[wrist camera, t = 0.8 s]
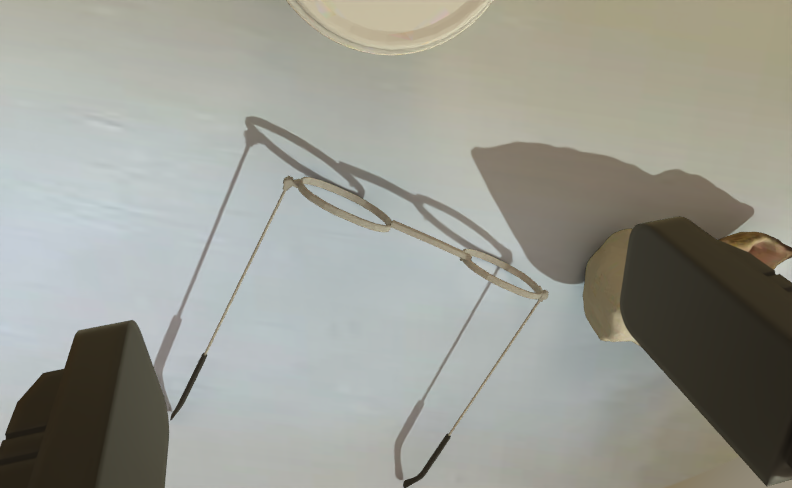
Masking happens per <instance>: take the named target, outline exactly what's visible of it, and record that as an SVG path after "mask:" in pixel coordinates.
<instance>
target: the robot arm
mask: <svg viewBox="0 0 792 488" xmlns="http://www.w3.org/2000/svg"><path fill="white" fill-rule="evenodd" d="M620 311H621V316H622V319H623V322H624V324H625V326H626V328H627V330H628V332H629V333H630V334H631V336H632V337H633V338H634V339H635V340H636V341H637V342H638V344H639V345H640V346H641V347H642V348H643V349H644V350H645V351H646V352H647V354H648V355H649V356H650V357H651V358H652V359H653V360H654V361H655V363H656V364H657V365H658V366H659V367H660V368H661V369H662V370H663V371H664V373H665V374H666V375H667V376H668V377H669V378H670V379H671V380H672V381H673V383H674V384H675V385H676V386H677V387H678V388H679V389H680V390H681V391H682V393H683V394H684V395H685V396H686V397H687V398H688V399H689V400H690V401H691V403H692V404H693V405H694V406H695V407H696V408H697V409H698V410H699V412H700V413H701V414H702V415H703V416H704V417H705V418H706V419H707V420H708V422H709V423H710V424H711V425H712V426H713V427H714V428H715V429H716V430H717V432H718V433H719V434H720V435H721V436H722V437H723V438H724V439H725V440H726V442H727V443H728V444H729V445H730V446H731V447H732V448H733V449H734V451H735V452H736V453H737V454H738V455H739V456H740V457H741V458H742V459H743V461H745V463H746V464H747V465H748V466H749V467H750V468H751V469H752V471H753V472H754V473H755V474H756V475H757V476H758V477H759V478H760V479H761V480H762V481H763V483H764V484H765V485H766V486H770V485H774V484H778V483H781V482H785V481H788V480H792V283H791V282H790V281H789V280H787V279H786V278H784V277H783V276H782V275H780V274H779V275H776V274H775V270H773V269H772V268H770V267H769V266H768V265H766V264H765V263H763V262H762V261H760V260H759V259H758V258H756V257H755V256H753V255H752V254H751V253H749V252H747V251H744V250H742V249H739V248H737V247H735V246H732V245H730V244H727V243H725V242H722V241H720V240H717V239H715V238H713V237H712V236H711V235H709V234H708V233H706V232H705V231H704V230H702V229H701V228H700V227H698V226H697V225H696V224H694V223H693V222H691V221H690V220H689V219H687V218H685V217H680V216H679V217H673V218H668V219H663V220H658V221H653V222H647V223H642V224H638V225H636V226H635V227H634V228H633V229H632V231H631V233H630V236H629V242H628V248H627V255H626V262H625V268H624V275H623V281H622V288H621V295H620ZM5 435H6V440H3V441H2V444H1V446H0V488H165V477H166V465H167V454H168V443H169V421H168V413H167V407H166V403H165V399H164V395H163V392H162V390H161V387H160V384H159V381H158V379H157V376H156V373H155V370H154V367H153V365H152V362H151V359H150V356H149V353H148V351H147V348H146V345H145V342H144V340H143V337H142V334H141V331H140V329H139V327H138V325H137V324H136V322H135V321H133V320H130V321H125V322H120V323H115V324H109V325H104V326H99V327H94V328H89V329H83V330H79V331H78V332H77V333H76V334H75V337H74V340H73V343H72V346H71V349H70V352H69V356H68V359H67V362H66V365H65V368H64V369H61V370H56V371H51V372H46V373H43V374H42V375H41V376H40V377H39V378H38V380H37V381H36V382H35V383H34V384H33V385H32V386H31V388H30V389H29V390H28V391H27V392H26V393H25V394H24V396H23V397H22V398H21V399H20V400H19V401H18V402H17V404H16V407H15V410H14V412H13V415H12V418H11V420H10V423H9V425H8V428H7V431H6V433H5Z"/></svg>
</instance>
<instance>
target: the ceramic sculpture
mask: <svg viewBox="0 0 792 488" xmlns="http://www.w3.org/2000/svg"><path fill="white" fill-rule="evenodd" d="M631 231H632V229H624V230H620V231H618V232H615V233H614V234H613V235H611V236H610V237H609V238H608V239H607V240H606V241H605V243H604V244H603V245H602V246H601V248H600V249H599V250H598V251H597V252H596V253H595V254H594V255H593V256H592V257H591V258H590V259H589V261H588V263H587V266H586V272H585V284H584V290H583V301H584V311H585V315H586V318H587V320H588V321H589V323H590V325H591V326H592V328H593V329H594V331H595V332H596V334H597V335H598V337H599V338H600V340H603V341H611V342H616V341H619V342H621V341H632V342H634V343H635V344H637V345H639V344H638V342H637V341H636V340H635V339H634V338H633V337H632V336H631V334H630V333H629V332H628V330H627V328H626V326H625V324H624V322H623V319H622V316H621V311H620V295H621V288H622V281H623V275H624V268H625V262H626V255H627V248H628V242H629V236H630V233H631ZM720 241H722V242H725V243H727V244H730V245H732V246H735V247H737V248H739V249H742V250H744V251H747V252H749V253H751V254H752V255H753V256H755V257H756V258H758V259H759V260H760V261H762V262H763V263H765V264H766V265H768V266H769V267H770V268H772V269H775V268H776V266H777V265H778V264H780V263H781V262H783V261H785V260H786V259H789V258H791V257H792V248H791V247H789V246H787V245H785V244H783V243H782V242H781V241H779V240H778V239H776V238H774V237H771V236H769V235H767V234H764V233H759V232H739V233H736V234H733V235H730V236H727V237H724V238H722V239H720ZM639 346H640V345H639Z"/></svg>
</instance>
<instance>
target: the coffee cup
mask: <svg viewBox="0 0 792 488" xmlns="http://www.w3.org/2000/svg"><path fill="white" fill-rule="evenodd" d="M492 1H493V0H287V2H288V3H289V5H290V6H291V7H292V8H293V9H294V10H295V11H296V12H297V14H298V15H299V16H300V17H301V18H303V19H304V20H305V21H306V22H307V23H308V24H309V25H310V26H312V27H313V28H314V29H316V30H317V31H318V32H320V33H321V34H322V35H324V36H326V37H328V38H329V39H331V40H333V41H335V42H337V43H339V44H341V45H344V46H346V47H348V48H352V49H355V50H358V51H361V52H366V53H372V54H379V55H403V54H410V53H416V52H420V51H423V50H427V49H430V48H432V47H435V46H438V45H440V44H442V43H444V42H446V41H448V40H450V39H452V38H453V37H455V36H456V35H458V34H459V33H461V32H462V31H464V30H465V29H466V28H468V27H469V26H470V25H471V24H472V23H473V22H475V21H476V20H477V19H478V18H479V17H480V16H481V14H482V13H483V12H484V11H485V10H486V9H487V8H488V6H489V5H490V4H491V3H492Z"/></svg>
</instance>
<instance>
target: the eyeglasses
mask: <svg viewBox="0 0 792 488" xmlns="http://www.w3.org/2000/svg"><path fill="white" fill-rule="evenodd" d="M283 184H284V186H283V189H284V191H283V193H282V195H281V197H280V199H279V201H278V203H277V205H276V207H275V209H274V211H273V213H272V215H271V217H270V219H269V221H268V224H267V226H266V228H265V230H264V232H263V234H262V236H261V238H260V240H259V242H258V244H257V246H256V248H255V250H254V252H253V254H252V256H251V258H250V261H249V263H248V265H247V267H246V269H245V271H244V273H243V275H242V277H241V279H240V281H239V283H238V285H237V287H236V289H235V291H234V293H233V295H232V298H231V300H230V302H229V304H228V306H227V308H226V310H225V312H224V314H223V316H222V318H221V320H220V322H219V324H218V326H217V328H216V330H215V332H214V335H213V337H212V339H211V341H210V343H209V345H208V347H207V349H206V351H205V353H203V354H202V356H201V358H200V360H199V362H198V364H197V366H196V368H195V370H194V372H193V374H192V376H191V378H190V380H189V382H188V384H187V386H186V389H185V391H184V393H183V395H182V397H181V399H180V401H179V403H178V405H177V406H176V408H175V410H174V411H173V413H172V415H171V419H170V420H172V419H173V417H174V416H175V415H176V414H177V412H178V411H179V410H180V408H181V407H182V406H183V404H184V402H185V400H186V398H187V396H188V394H189V392H190V390H191V388H192V386H193V384H194V382H195V380H196V378H197V376H198V374H199V372H200V370H201V368H202V366H203V364H204V362H205V359H206V357H207V352H208V350H209V348H210V346H211V344H212V342H213V340H214V338H215V336H216V333H217V331H218V329H219V327H220V325H221V323H222V321H223V319H224V317H225V315H226V313H227V311H228V309H229V307H230V305H231V303H232V301H233V299H234V297H235V295H236V292H237V290H238V288H239V286H240V284H241V282H242V280H243V278H244V276H245V274H246V272H247V270H248V268H249V266H250V264H251V262H252V260H253V258H254V256H255V254H256V252H257V249H258V247H259V245H260V243H261V241H262V239H263V237H264V235H265V233H266V231H267V229H268V227H269V225H270V223H271V221H272V219H273V217H274V215H275V213H276V211H277V208H278V206H279V204H280V202H281V200H282V198H283V196H284V194H285V192H286V191H287V190H288V189H289V188H290V187H292V186H294V187H296V188H298V189H299V191H300V192H301V193H302V195H304V196H305V197H306V198H307V199H308V200H310V201H311V202H313V203H315V204H316V205H318V206H319V207H321V208H322V209H324V210H326V211H328V212H330V213H332V214H334V215H336V216H338V217H341V218H343V219H345V220H348V221H350V222H352V223H355V224H357V225H359V226H362V227H365V228H368V229H371V230H374V231H379V232H388V231H389V230H390V228H391V227H392V228H394V229H397V230H399V231H401V232H404V233H406V234H408V235H411V236H413V237H415V238H417V239H420V240H422V241H424V242H427V243H429V244H431V245H434V246H436V247H438V248H440V249H442V250H445V251H447V252H449V253H451V254H453V255H456V256H458V257H460V258H461V259H460V261H463V262H464V263H465V264H466V265H467V266H468V267H469V268H470V269H471V270H473V271H474V272H475V273H477V274H478V275H480V276H481V277H483V278H485V279H486V280H488V281H490V282H492V283H494V284H496V285H498V286H500V287H502V288H504V289H506V290H508V291H511V292H513V293H515V294H518V295H520V296H523V297H526V298H530V299H538V301H537V303H536V304H535V306H534V307H533V309H532V310H531V312H530V313H529V315H528V316H527V318H526V319H525V321H524V322H523V324H522V325H521V327H520V328H519V330H518V331H517V333H516V334H515V336H514V337H513V339H512V340H511V342H510V343H509V345H508V346H507V348H506V349H505V351H504V352H503V354H502V355H501V357H500V358H499V360H498V361H497V363H496V364H495V366H494V367H493V369H492V370H491V372H490V373H489V375H488V376H487V377H486V379H485V380H484V382H483V383H482V385H481V386H480V388H479V389H478V391H477V392H476V394H475V395H474V397H473V398H472V400H471V401H470V403H469V404H468V406H467V407H466V409H465V410H464V412H463V413H462V415H461V416H460V418H459V419H458V421H457V422H456V424H455V425H454V427H453V428H452V430H451V431H450V433H449V434H446V436H445V437H444V439H443V440H442V442H441V443H440V445H439V446H438V448H437V449H436V450H435V452H434V453H433V455H432V456H431V458H430V459H429V461H428V462H427V464H426V465H425V467H424V468H423V470H422V471H421V472H420V473H419V474H418V475H417V476H416V477H414V478H411V479H407V480H405V481H404V483H403V486H404V488H406V487H408V486H410V485H412V484H413V483H415V482H417V481H419V480H420V479H422V478H423V477H424V476H425V474H426V473H427V472H428V470H429V469H430V467H431V466H432V464H433V463H434V461H435V460H436V458H437V457H438V456H439V454H440V453H441V451H442V450H443V448H444V447H445V445H446V444H447V442H448V440H449V439H450V437H451V436H450V435H451V433H452V432H453V430H454V429H455V427H456V426H457V424H458V423H459V421H460V420H461V418H462V417H463V415H464V414H465V412H466V411H467V409H468V408H469V406H470V405H471V403H472V402H473V400H474V399H475V397H476V396H477V394H478V393H479V392H480V390H481V389H482V387H483V386H484V384H485V383H486V381H487V380H488V378H489V377H490V375H491V374H492V372H493V371H494V369H495V368H496V366H497V365H498V363H499V362H500V360H501V359H502V357H503V356H504V354H505V353H506V351H507V350H508V348H509V347H510V345H511V344H512V342H513V341H514V339H515V338H516V336H517V335H518V334H519V332H520V331H521V329H522V328H523V326H524V325H525V323H526V322H527V320H528V319H529V317H530V316H531V314H532V313H533V311H534V310H535V308H536V307H537V305H538V304H539V302H542V301H543V300H545V299H547V298H548V293H549V292H548V291H546V290H542V288H541V286H538V285H537V284H536V283H535V282H534V281H533V280H532V279H531V278H529V277H528V276H527V275H525V274H524V273H522V272H521V271H519V270H517V269H516V268H514V267H512V266H510V265H509V264H507V263H505V262H503V261H501V260H499V259H497V258H494V257H492V256H490V255H487V254H485V253H482V252H479V251H476V250H472V249H464V250H463V251H462V250H460V249H458V248H455V247H453V246H451V245H449V244H447V243H445V242H442V241H440V240H438V239H436V238H434V237H431V236H429V235H427V234H425V233H422V232H420V231H418V230H415V229H413V228H411V227H408V226H406V225H404V224H402V223H399V222H397V221H395V220H393V221H391V219H390V218H389V217H388V216H387V215H386V214H385V213H384V212H382V211H381V210H380V209H378V208H377V207H375V206H374V205H372V204H371V203H369V202H367V201H366V200H364V199H362V198H360V197H358V196H356V195H354V194H352V193H350V192H348V191H346V190H344V189H342V188H339V187H337V186H334V185H332V184H329V183H327V182H324V181H321V180H318V179H314V178H311V177H303V178H301V179H296V180H293V177H290V176H288V177H286V178H285V179H284V181H283ZM304 184H310V185H313V186H317V187H320V188H323V189H326V190H328V191H331V192H333V193H336V194H338V195H341V196H343V197H345V198H347V199H349V200H351V201H353V202H355V203H357V204H359V205H361V206H363V207H364V208H366V209H367V210H369V211H371V212H372V213H374V214H375V215H376V216H378V217H379V218H380V219H381V220H382V221H383V222H385V224H386V225H380V224H375V223H373V222H370V221H367V220H364V219H362V218H359V217H357V216H355V215H352V214H350V213H348V212H346V211H343V210H341V209H339V208H337V207H335V206H333V205H331V204H329V203H327V202H325V201H324V200H322V199H321V198H319V197H317V196H316V195H314V194H313V193H312V192H310V191H309V190H308V189H307V188H306V187H305V186H304ZM472 256H475V257H478V258H481V259H483V260H486V261H488V262H490V263H493V264H495V265H497V266H499V267H501V268H503V269H505V270H507V271H508V272H510V273H512V274H514V275H515V276H517V277H519V278H520V279H522V280H523V281H524V282H526V283H527V284H528V285H529V286H530V287H531V288H532V289H533V290H534V291H535V293H533V292H529V291H526V290H523V289H521V288H518V287H516V286H514V285H512V284H509V283H507V282H505V281H503V280H501V279H499V278H497V277H495V276H493V275H491V274H489V273H488V272H486V271H485V270H483V269H482V268H480V267H479V266H477V265H476V264H475V263H473V262H472V261H471V258H472Z"/></svg>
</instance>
